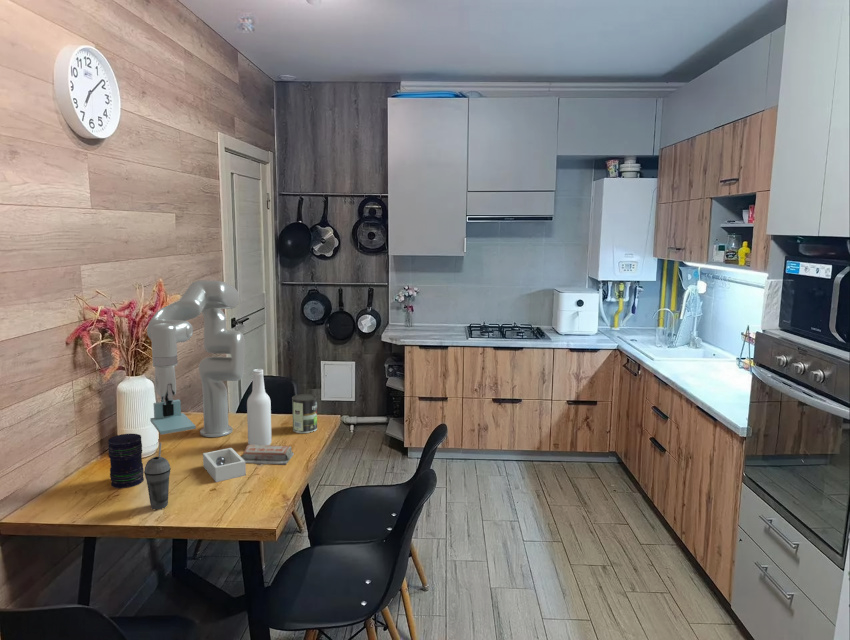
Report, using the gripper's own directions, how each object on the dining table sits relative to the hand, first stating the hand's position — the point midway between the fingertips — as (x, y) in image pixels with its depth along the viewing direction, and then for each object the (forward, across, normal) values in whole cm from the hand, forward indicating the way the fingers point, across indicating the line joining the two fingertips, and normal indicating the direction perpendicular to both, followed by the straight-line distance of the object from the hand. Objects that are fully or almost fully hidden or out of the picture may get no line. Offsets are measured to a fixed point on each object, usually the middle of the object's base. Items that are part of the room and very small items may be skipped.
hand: (167, 414), depth 194 cm
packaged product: (+22, +3, +32) cm, 39 cm away
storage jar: (+22, -2, -13) cm, 25 cm away
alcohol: (+22, -11, +35) cm, 43 cm away
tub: (+21, +6, +16) cm, 28 cm away
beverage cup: (+22, +22, -8) cm, 32 cm away
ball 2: (+19, +6, +15) cm, 25 cm away
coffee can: (+21, -18, +57) cm, 64 cm away
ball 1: (+19, +2, +16) cm, 25 cm away
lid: (+2, +7, 0) cm, 7 cm away
